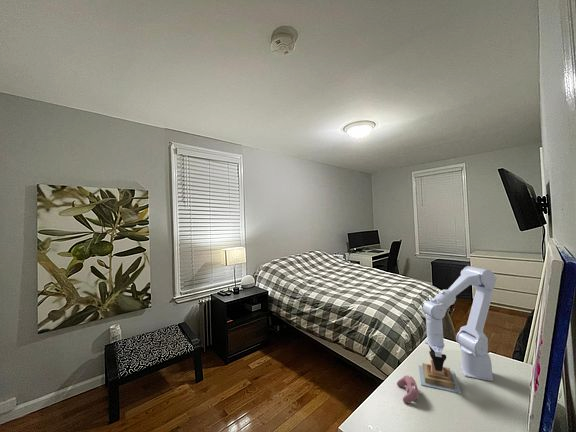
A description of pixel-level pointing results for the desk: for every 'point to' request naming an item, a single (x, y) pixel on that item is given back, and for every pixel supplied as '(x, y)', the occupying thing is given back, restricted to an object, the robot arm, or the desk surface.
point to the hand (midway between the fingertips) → (437, 364)
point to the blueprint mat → (437, 385)
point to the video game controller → (409, 388)
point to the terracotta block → (435, 370)
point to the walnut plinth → (438, 377)
